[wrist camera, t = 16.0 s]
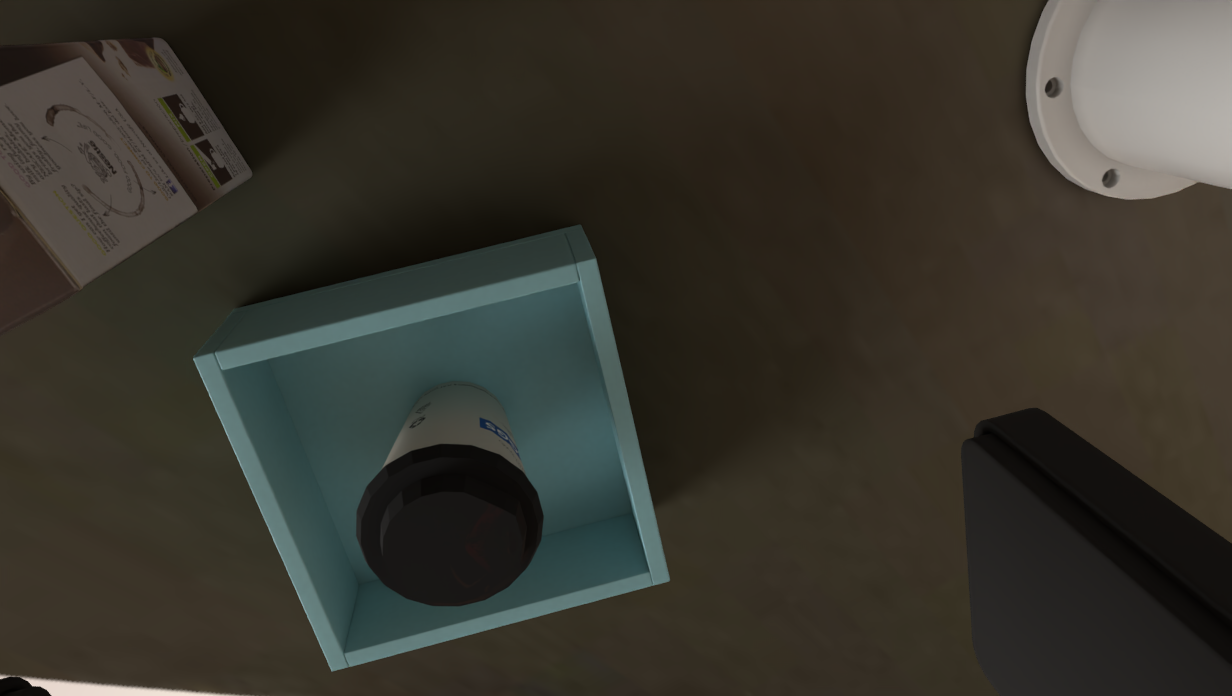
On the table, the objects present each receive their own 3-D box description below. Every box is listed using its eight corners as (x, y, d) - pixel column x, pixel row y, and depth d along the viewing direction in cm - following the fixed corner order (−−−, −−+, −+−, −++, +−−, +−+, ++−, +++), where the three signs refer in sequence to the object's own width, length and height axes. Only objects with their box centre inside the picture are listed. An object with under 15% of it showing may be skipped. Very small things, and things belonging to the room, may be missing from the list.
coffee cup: (392, 497, 41) (364, 639, 31) (371, 363, 38) (334, 474, 29) (537, 483, 41) (552, 616, 32) (527, 350, 39) (540, 454, 30)
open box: (580, 223, 38) (596, 258, 33) (647, 512, 44) (670, 581, 39) (234, 308, 37) (192, 357, 32) (350, 590, 43) (331, 672, 38)
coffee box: (160, 28, 33) (-110, 37, 18) (259, 177, 35) (94, 293, 20) (-43, 137, 33) (-472, 234, 18) (68, 276, 36) (-230, 463, 21)
